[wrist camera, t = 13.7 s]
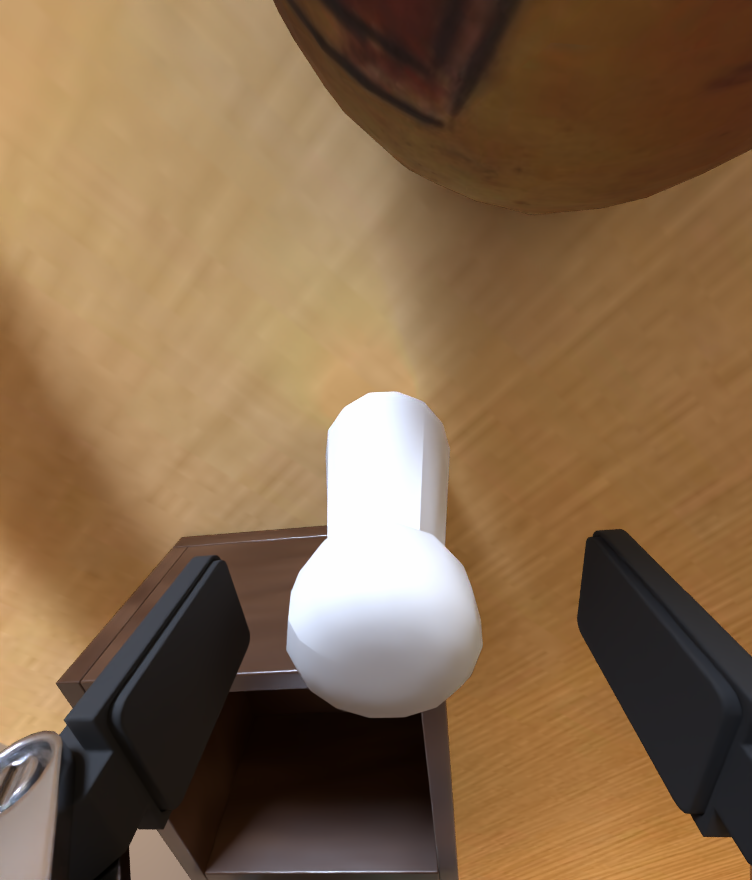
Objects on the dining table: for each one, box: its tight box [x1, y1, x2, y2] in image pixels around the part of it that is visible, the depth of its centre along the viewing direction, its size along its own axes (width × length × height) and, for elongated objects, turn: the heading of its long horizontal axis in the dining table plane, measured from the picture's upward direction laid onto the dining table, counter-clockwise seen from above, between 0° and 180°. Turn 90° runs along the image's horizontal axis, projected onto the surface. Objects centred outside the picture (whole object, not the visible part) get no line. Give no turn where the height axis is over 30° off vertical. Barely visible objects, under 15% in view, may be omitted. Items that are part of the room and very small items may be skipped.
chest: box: [56, 526, 459, 880], centre depth 20 cm, size 17×15×9 cm
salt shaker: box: [286, 392, 483, 718], centre depth 13 cm, size 6×6×13 cm
